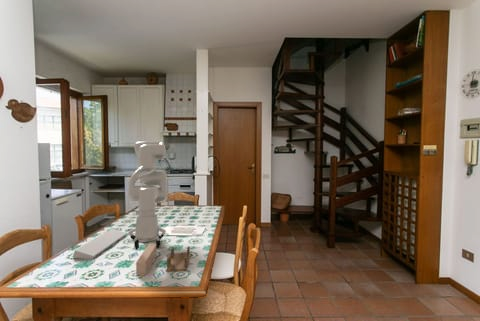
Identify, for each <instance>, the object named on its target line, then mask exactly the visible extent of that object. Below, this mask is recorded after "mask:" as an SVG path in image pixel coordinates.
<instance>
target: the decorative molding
mask: <svg viewBox="0 0 480 321" xmlns="http://www.w3.org/2000/svg"><path fill="white" fill-rule="evenodd" d="M127 233H128V232H125V231H121V230H118V229H115V228H111V229H109V230H107V231H106V232H104V233H103V234H99V235H98V236H97V237H95V238H94V239H92V240H90V241H88V242H86V243H85V244H84V245H82V246H80V247H78V248H76V249H75V250H74V251H73V252H74V253H73V256H72V258H79V259H82V260H93V259H95V258H96V257H97V256H98V255H100V254H102V253H103V252H105V251H106V250H107V249H109V248H110V247H112V246H113V245H114V244H116V243H117V242H119V241H120V240H121V239H123V238H124V237H125V236H126V235H127ZM118 240H119V241H118ZM101 252H102V253H101ZM79 259H78V260H79Z"/></svg>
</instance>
